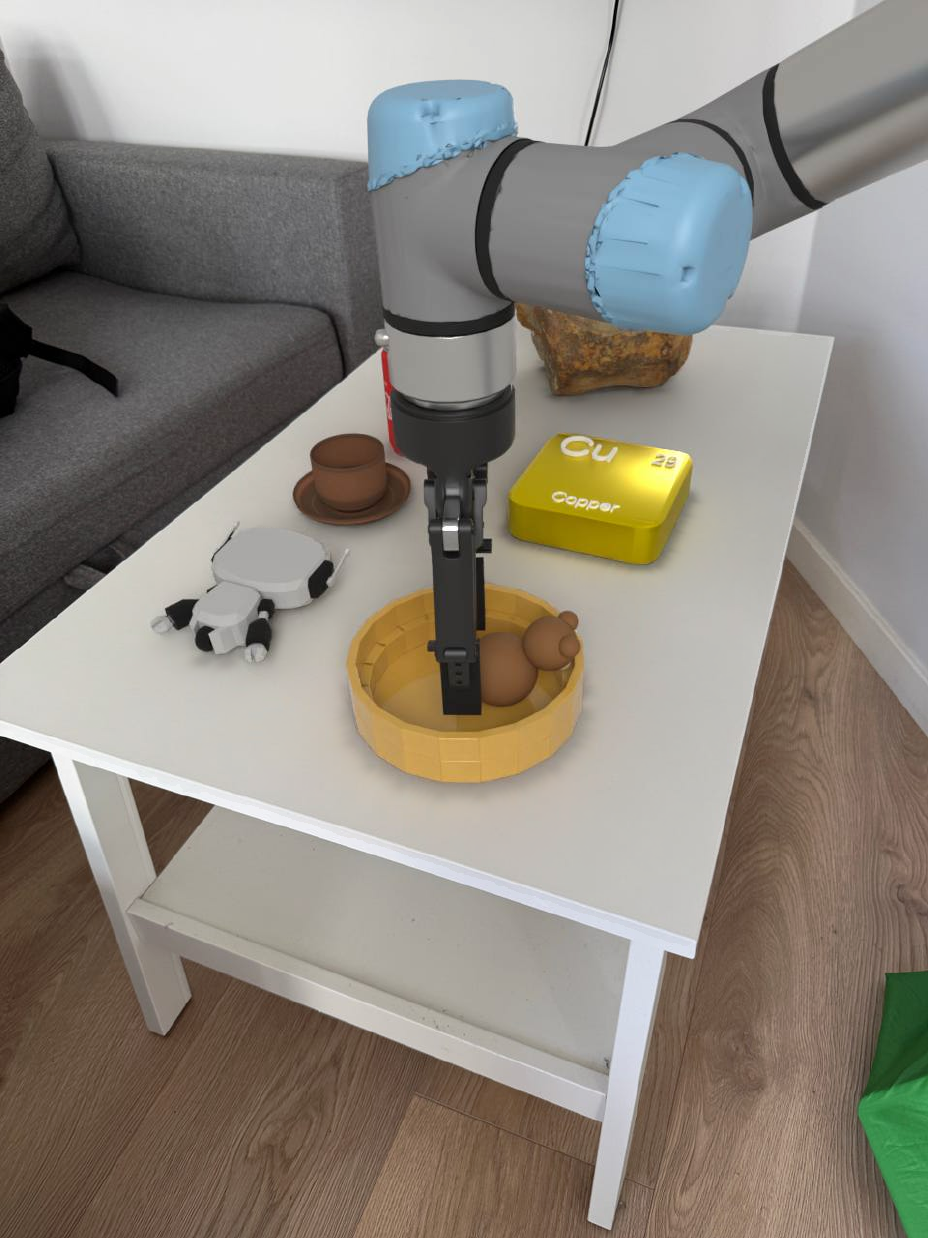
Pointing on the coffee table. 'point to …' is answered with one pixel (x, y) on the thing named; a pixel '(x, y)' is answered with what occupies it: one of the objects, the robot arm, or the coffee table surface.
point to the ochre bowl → (412, 698)
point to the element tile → (600, 497)
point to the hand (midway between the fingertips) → (465, 667)
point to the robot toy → (253, 589)
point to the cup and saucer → (350, 482)
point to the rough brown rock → (600, 351)
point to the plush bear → (525, 657)
